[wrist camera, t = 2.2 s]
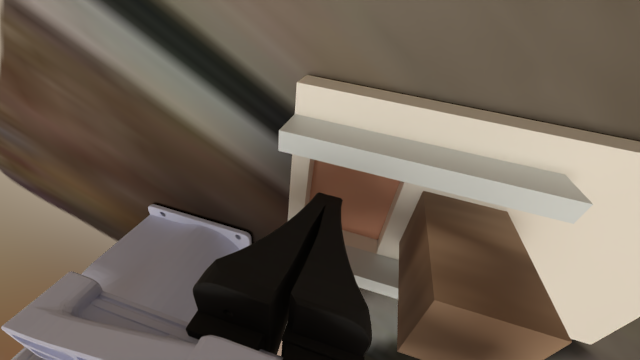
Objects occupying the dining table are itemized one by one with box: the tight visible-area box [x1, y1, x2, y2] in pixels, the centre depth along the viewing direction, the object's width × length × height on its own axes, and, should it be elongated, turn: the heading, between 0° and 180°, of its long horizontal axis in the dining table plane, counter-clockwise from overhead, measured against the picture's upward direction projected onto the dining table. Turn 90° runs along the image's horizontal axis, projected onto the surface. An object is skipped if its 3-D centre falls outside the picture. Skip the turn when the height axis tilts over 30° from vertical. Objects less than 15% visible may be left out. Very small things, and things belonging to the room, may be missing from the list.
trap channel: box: [278, 75, 640, 345], centre depth 14 cm, size 20×12×4 cm, turn 83°
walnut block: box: [397, 191, 572, 360], centre depth 12 cm, size 4×4×6 cm
